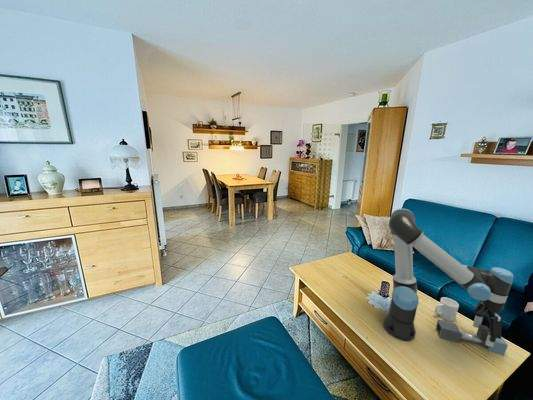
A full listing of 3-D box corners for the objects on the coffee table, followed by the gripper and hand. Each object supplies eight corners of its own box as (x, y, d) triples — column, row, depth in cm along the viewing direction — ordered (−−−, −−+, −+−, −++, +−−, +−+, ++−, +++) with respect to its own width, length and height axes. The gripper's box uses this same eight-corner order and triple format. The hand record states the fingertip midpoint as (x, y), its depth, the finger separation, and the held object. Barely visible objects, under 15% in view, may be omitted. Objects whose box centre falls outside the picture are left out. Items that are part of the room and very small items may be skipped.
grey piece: (456, 338, 114) (460, 323, 112) (453, 333, 117) (457, 319, 115) (493, 348, 109) (498, 332, 107) (489, 342, 112) (494, 327, 110)
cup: (458, 321, 127) (462, 306, 124) (439, 322, 126) (443, 307, 124) (446, 311, 135) (450, 297, 132) (428, 311, 134) (431, 297, 132)
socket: (488, 351, 109) (491, 340, 107) (480, 339, 115) (484, 329, 113) (504, 355, 107) (507, 344, 105) (495, 343, 113) (498, 333, 111)
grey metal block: (439, 338, 116) (442, 328, 114) (435, 328, 121) (437, 319, 120) (458, 342, 113) (461, 332, 111) (453, 333, 119) (455, 323, 117)
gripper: (521, 318, 94) (506, 358, 99) (489, 286, 115) (479, 321, 121) (498, 313, 96) (485, 353, 102) (472, 283, 118) (462, 317, 123)
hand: (482, 335), depth 111 cm, fingers open, 11 cm apart
